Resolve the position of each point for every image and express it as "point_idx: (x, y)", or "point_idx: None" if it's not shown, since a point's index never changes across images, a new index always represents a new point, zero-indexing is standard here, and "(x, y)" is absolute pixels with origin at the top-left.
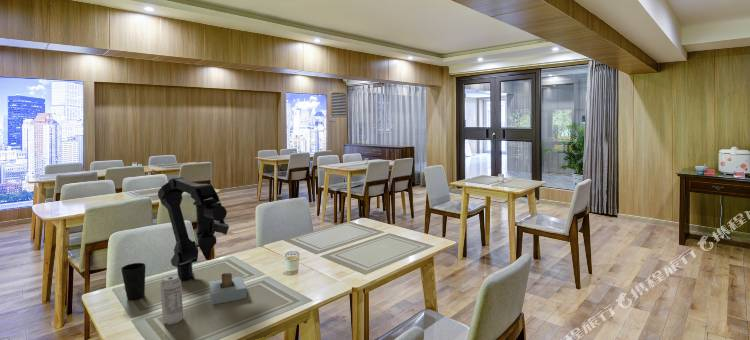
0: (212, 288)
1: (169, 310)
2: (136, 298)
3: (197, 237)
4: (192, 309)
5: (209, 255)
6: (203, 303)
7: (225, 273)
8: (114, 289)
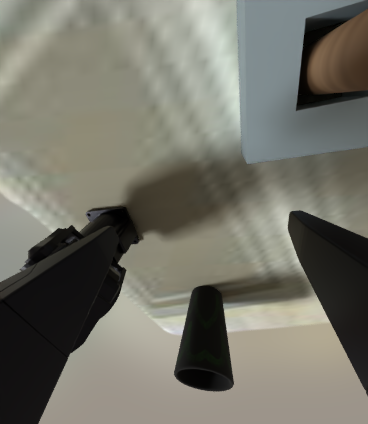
0: (341, 141)
1: None
2: (221, 297)
3: (40, 415)
4: (363, 193)
5: (342, 233)
6: (337, 164)
7: (356, 57)
8: (159, 316)
